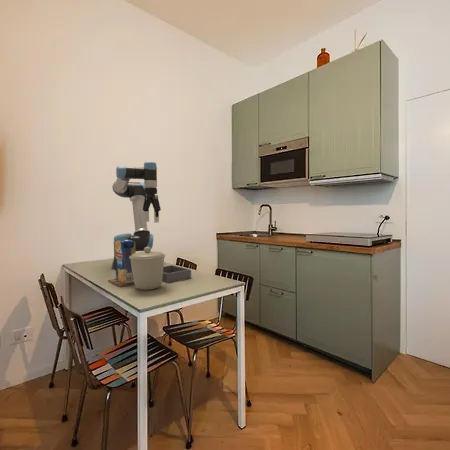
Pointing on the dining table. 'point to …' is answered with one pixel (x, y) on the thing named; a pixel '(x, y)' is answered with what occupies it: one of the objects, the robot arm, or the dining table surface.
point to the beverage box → (124, 260)
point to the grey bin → (175, 273)
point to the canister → (147, 269)
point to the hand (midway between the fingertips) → (151, 222)
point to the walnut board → (120, 283)
